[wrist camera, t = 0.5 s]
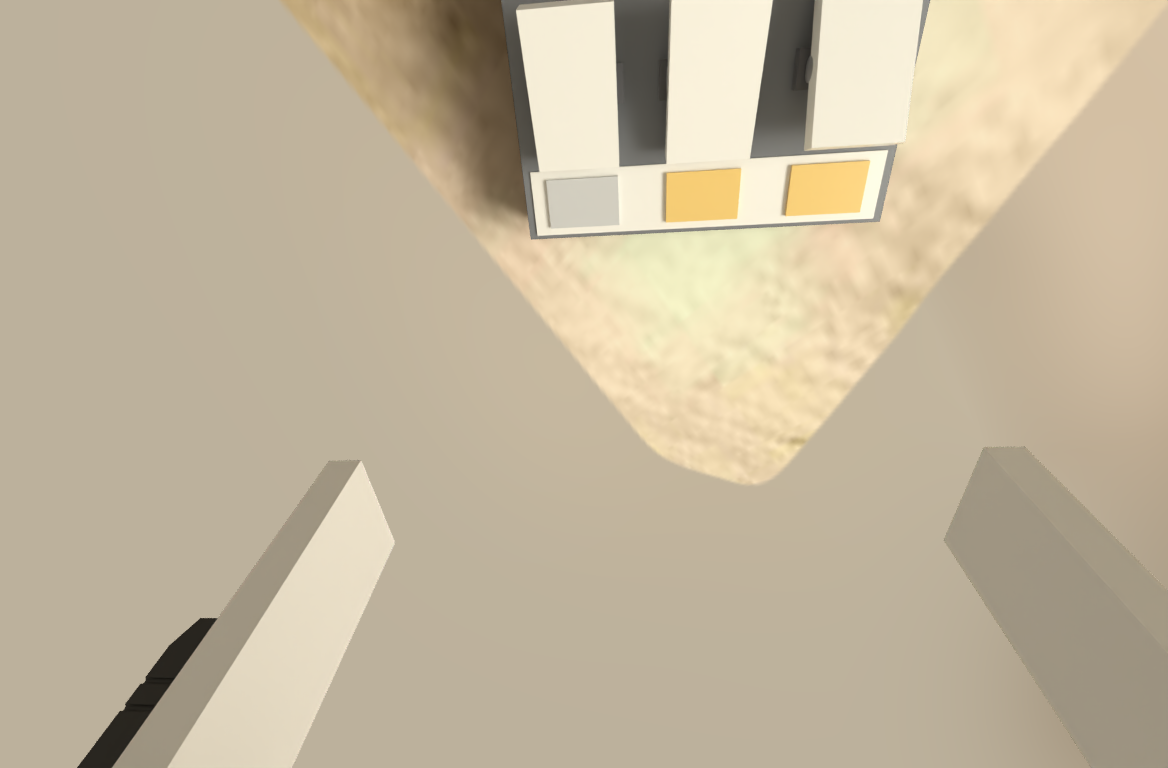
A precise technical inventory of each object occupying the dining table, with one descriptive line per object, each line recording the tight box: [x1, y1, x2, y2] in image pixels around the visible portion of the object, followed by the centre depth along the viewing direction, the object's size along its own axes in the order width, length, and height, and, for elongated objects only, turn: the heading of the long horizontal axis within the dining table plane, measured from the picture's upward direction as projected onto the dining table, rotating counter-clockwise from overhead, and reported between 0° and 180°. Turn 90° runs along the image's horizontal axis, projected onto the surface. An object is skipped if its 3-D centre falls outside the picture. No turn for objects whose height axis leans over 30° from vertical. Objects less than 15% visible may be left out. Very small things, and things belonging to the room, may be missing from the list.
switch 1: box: [516, 0, 619, 172], centre depth 23 cm, size 6×4×2 cm, turn 4°
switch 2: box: [665, 0, 773, 164], centre depth 22 cm, size 6×4×2 cm, turn 4°
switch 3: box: [804, 0, 923, 151], centre depth 22 cm, size 6×4×2 cm, turn 4°
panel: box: [501, 0, 930, 239], centre depth 25 cm, size 14×18×5 cm
